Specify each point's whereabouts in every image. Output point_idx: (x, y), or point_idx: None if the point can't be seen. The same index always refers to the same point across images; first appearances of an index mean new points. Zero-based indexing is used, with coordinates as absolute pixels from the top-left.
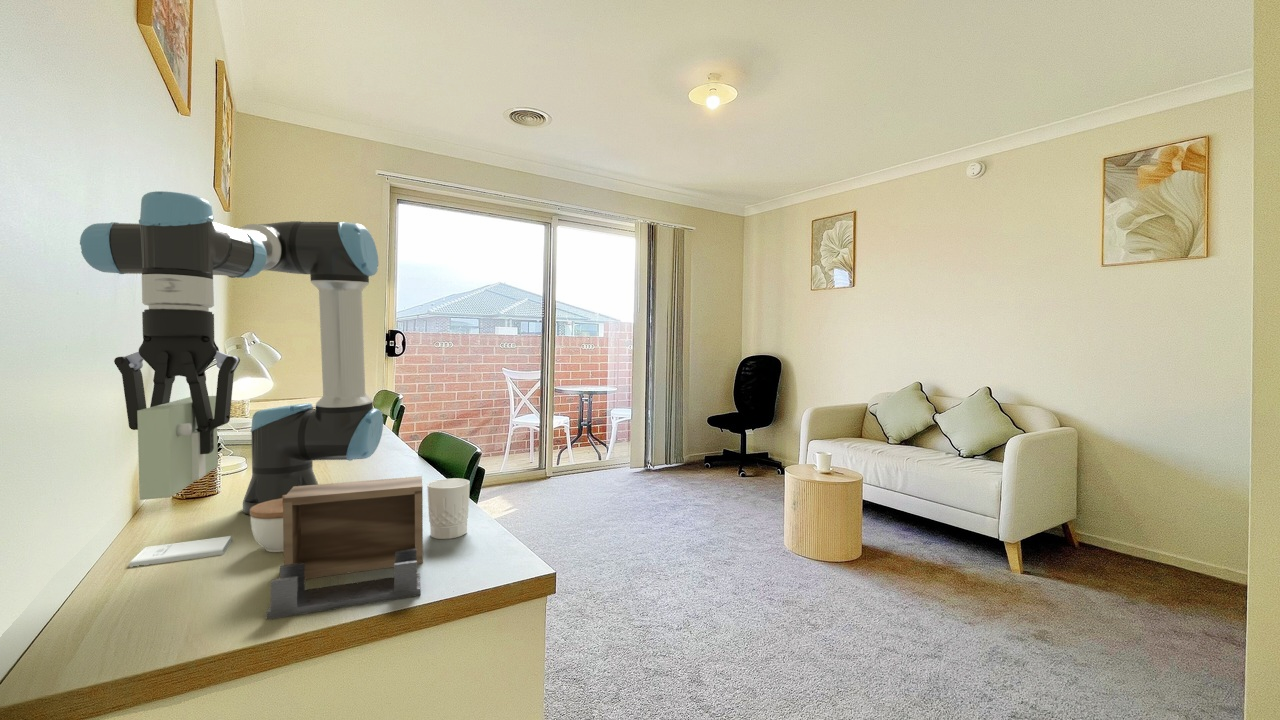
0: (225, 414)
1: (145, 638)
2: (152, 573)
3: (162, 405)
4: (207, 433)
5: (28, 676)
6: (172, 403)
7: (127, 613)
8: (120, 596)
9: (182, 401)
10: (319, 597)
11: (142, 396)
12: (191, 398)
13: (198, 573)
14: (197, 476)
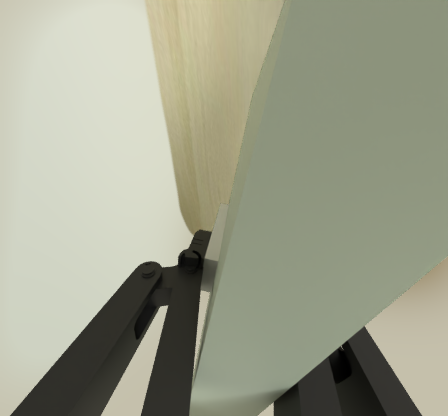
0: (346, 362)
1: (228, 204)
2: (205, 39)
3: (201, 404)
4: None
5: (188, 217)
6: (216, 391)
7: (209, 156)
8: (195, 109)
9: (238, 369)
10: None
11: (91, 394)
12: (276, 271)
13: (248, 74)
14: None
